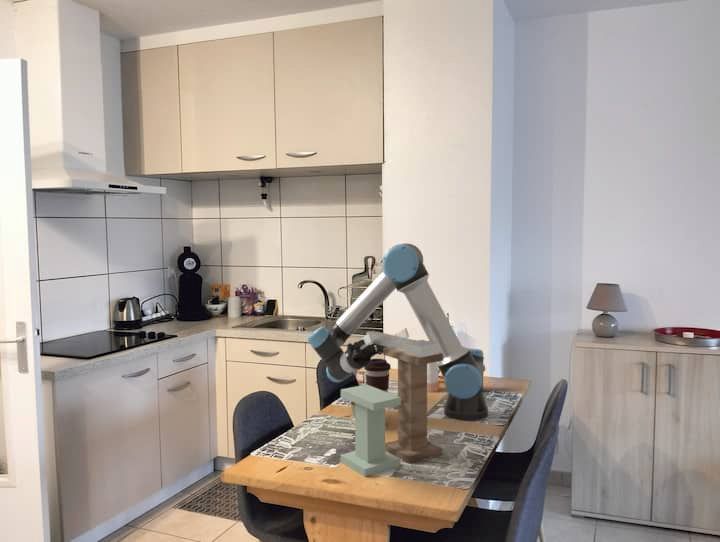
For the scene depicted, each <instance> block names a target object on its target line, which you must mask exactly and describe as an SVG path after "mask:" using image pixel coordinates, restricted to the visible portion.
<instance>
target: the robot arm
mask: <svg viewBox="0 0 720 542" xmlns="http://www.w3.org/2000/svg"><path fill="white" fill-rule="evenodd" d="M381 265H382V271H381V272H380V274H378V275H377V277H376V278H375V279H373V281H372V282H371V283H370V284H369V285H368V286H367V287H366V288H365V290H363V292H362V293H361V294H360V295H359V296H358V297H357V298H356V299H355V300H354V302H353V303H351V304H350V306H348V307H347V309H346V310H344V312H343V313H342V314H341V315H340V317H339V318H337V320H335V322H334V323H333V324H332V325H331V326H330V327H329V328H328V329H327V328H326V326H324V325H322V326H320V327H319V328H317V329H316V330H315V331H313V332H311V334H309V335H308V336H307V342H308V343H309V344H310V346H311V348H312V349H313V350H314V351H315V352H316V353H317V355H318V356H319V358H320V359H321V360H322V361H323V363H324V364H325V366H326V370H325V372H326V376H327V378H328V379H329V380H330V381H332V382H333V383H341V382H343V381H345V380H347V379H348V378H350V377H352V375H357V373H358V371H360V370H361V369H363V368H364V367H365V366H366V365H368V364H369V362H370V360H371V359H372V357H374V356H376V355H378V356H379V355H383V348H387V347H386V346H382V345H378V344H374V343H372V342H373V339H372V336H371V333H368V334H367V335H366V334H365V335H364V336H363V337H362V338H360V339H359V340H358V341H354V342H353V344H352V343H350V342H349V343H348V344H347V345H346V346H347V347H346V350H345V351H344V350H343V348H342V346H343V345H344V344H345V343H346V342H347V340H349V338H350V337H351V336H352V335H353V334H354V333H355V332H356V331H357V330H358V328H360V327H361V326H362V325H363V323H365V321H366V320H367V319H368V318H369V317H370V316H371V315H372V314H373V313H374V311H376V310H377V309H378V308H379V307H380V306H381V305H382V304H383V302H384V301H385V300H387V298H388V297H389V296H390V295H391V294H392V293H393V292H394V291H395V290H396V291H397V292H400V293H402V294H404V296H405V298H406V300H407V302H408V304H409V305H410V307H411V309H412V311H413V313H414V315H415V317H416V318H417V320H418V322H419V324H420V326H421V328H422V330H423V332H424V333H425V335H426V337H427V339H428V341H430V342H435V343H439V353H442V354H443V361H439V362H437V366H438V371H439V372H440V373H441V375H442V377H443V381H444V386H445V388H446V390H447V392H448V393H447V396H446V400H445V403H444V405H443V414H444V415H445V417H448V418H451V419H454V420H459V421H480V420H483V419H486V418H487V417H488V416H489V408H488V404H487V401H486V398H485V395H484V373H483V364H484V359H485V357H484V352H483V350H482V349H479V348H469V347H466V346H464V345H462V344H461V341H460V340H459V338H458V336H457V334H456V331H455V330H454V328H453V326H452V325H451V323H450V321H449V319H448V318H447V315H446V313H445V311H444V310H443V308H442V306H441V304H440V302H439V301H438V299H437V297H436V295H435V293H434V291H433V289H432V286H431V285H430V284H429V282H428V279H429V277H430V273H429V272H428V270H427V269H426V266H425V264H424V256H423V253H422V252H421V250H420V248H419V247H418V246H416V245H414V244H412V243H399V244H396V245H392V247H390V248H389V249H388V250H387V251H386V252H385V254H384V256H383V259H382V264H381ZM394 336H399V337H403V338H408V339H409V337H410V335H409V332H408V330H407V328H404V329H402V330H401V331H398V332H397V333H395V334H394Z"/></svg>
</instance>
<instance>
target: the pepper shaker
mask: <svg viewBox="0 0 720 542" xmlns="http://www.w3.org/2000/svg"><path fill="white" fill-rule="evenodd" d="M437 363H438V362H433V363H428V364H427V393H437V392H439V391H440V381H439V372H440V371H439V368H438V366H437Z"/></svg>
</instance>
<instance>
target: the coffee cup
mask: <svg viewBox="0 0 720 542" xmlns="http://www.w3.org/2000/svg"><path fill="white" fill-rule="evenodd" d="M363 368H364V370H365V382H366V383H365V385H369V386H372V387H375V388H377V389H380V390H382V391H385V392H388V390H389V385H390V384H389V383H390V382H389V381H390V370H391V364H390V363H388V361H387V360H386V359H384V358H371V360H370V362H369V364H368V365H366V366H365V367H363ZM388 393H389V392H388Z"/></svg>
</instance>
